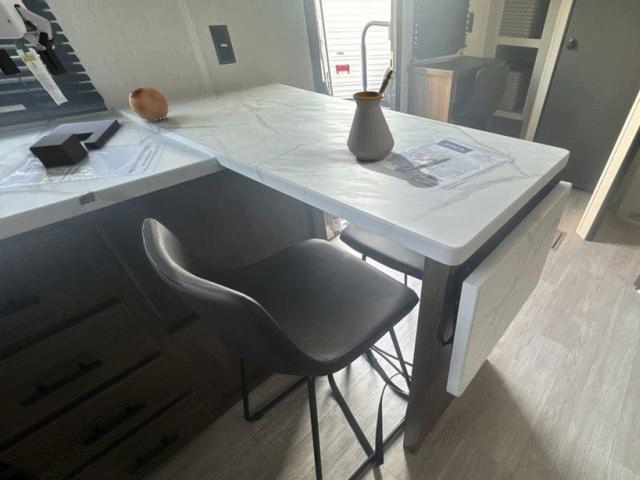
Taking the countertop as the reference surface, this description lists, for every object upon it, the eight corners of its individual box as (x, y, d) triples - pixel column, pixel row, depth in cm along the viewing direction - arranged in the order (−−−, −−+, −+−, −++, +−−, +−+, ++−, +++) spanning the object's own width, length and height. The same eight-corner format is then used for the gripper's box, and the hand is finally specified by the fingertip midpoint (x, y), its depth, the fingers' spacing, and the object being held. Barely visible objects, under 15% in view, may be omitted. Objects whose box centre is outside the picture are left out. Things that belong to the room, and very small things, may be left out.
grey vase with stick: (384, 167, 72) (381, 91, 62) (340, 160, 75) (329, 86, 64) (413, 136, 86) (414, 70, 75) (374, 132, 89) (371, 67, 78)
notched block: (34, 155, 78) (28, 148, 77) (64, 129, 91) (61, 124, 90) (98, 148, 81) (94, 142, 80) (119, 124, 94) (116, 119, 93)
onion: (159, 134, 97) (134, 105, 87) (138, 120, 98) (111, 90, 89) (182, 115, 99) (160, 85, 90) (161, 102, 101) (137, 71, 91)
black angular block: (45, 167, 73) (29, 147, 70) (59, 155, 78) (44, 135, 75) (75, 164, 74) (61, 144, 71) (87, 152, 79) (73, 132, 76)
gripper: (-126, -51, 50) (-22, 78, 62) (-18, -52, 50) (64, 78, 62) (-76, -49, 55) (11, 70, 67) (21, -49, 55) (91, 70, 67)
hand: (36, 74), depth 65 cm, fingers open, 9 cm apart
